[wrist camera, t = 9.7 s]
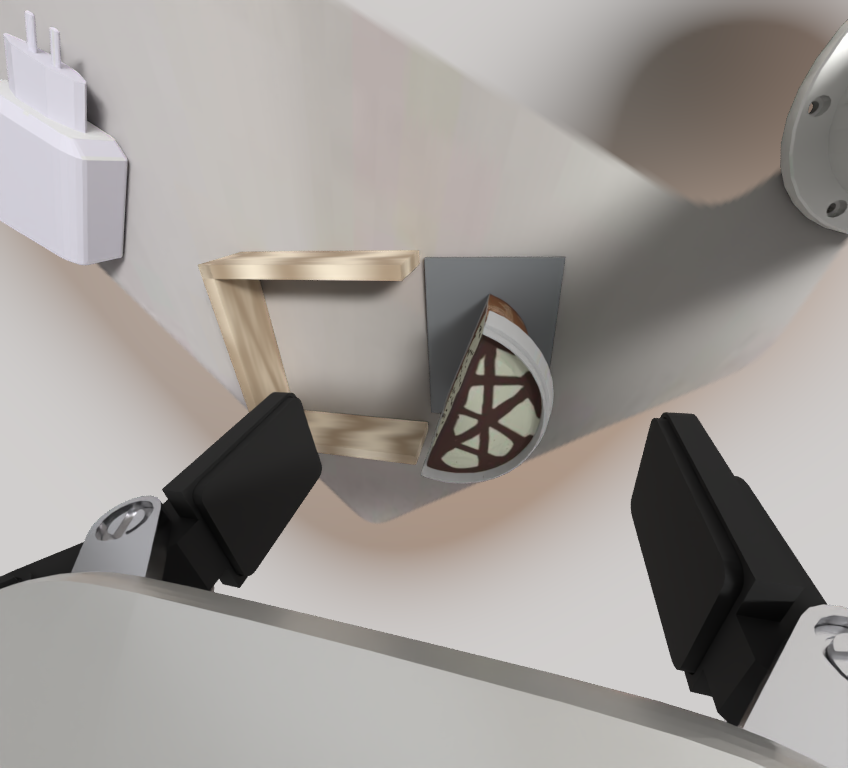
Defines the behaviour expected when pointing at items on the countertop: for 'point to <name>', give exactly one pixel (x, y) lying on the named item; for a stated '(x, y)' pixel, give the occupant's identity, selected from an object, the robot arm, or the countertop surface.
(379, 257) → the open box
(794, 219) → the countertop surface
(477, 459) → the food container
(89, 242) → the charger
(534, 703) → the robot arm
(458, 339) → the mat
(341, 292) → the countertop surface
